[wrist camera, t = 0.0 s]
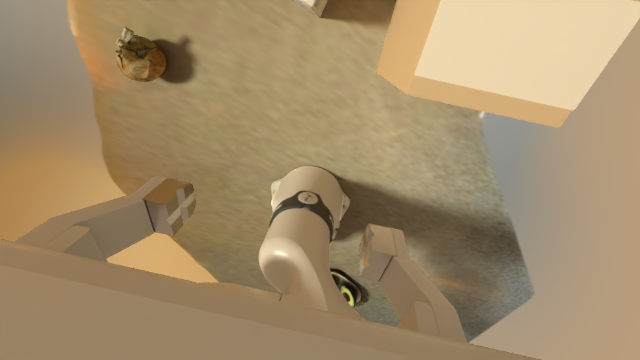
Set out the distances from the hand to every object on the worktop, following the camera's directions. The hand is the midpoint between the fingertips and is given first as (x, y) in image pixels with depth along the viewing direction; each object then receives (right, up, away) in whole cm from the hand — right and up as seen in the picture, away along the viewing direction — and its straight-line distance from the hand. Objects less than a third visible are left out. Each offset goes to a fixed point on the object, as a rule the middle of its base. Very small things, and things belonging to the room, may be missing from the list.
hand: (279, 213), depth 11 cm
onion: (-30, +25, +35) cm, 52 cm away
